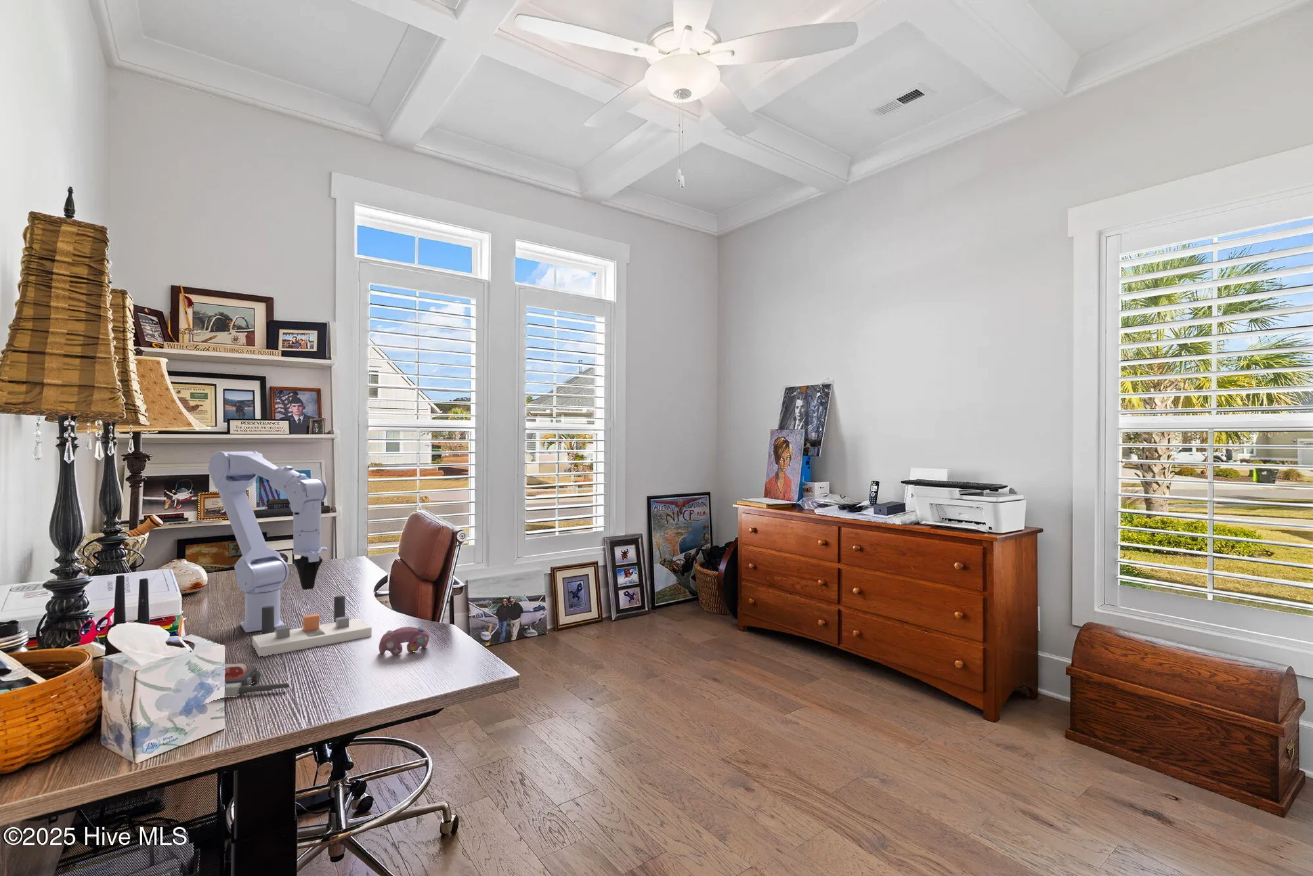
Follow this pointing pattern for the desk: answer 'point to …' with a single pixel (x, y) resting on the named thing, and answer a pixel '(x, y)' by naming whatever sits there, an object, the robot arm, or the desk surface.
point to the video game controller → (403, 640)
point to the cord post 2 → (339, 607)
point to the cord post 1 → (267, 619)
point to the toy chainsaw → (245, 680)
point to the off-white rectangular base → (310, 636)
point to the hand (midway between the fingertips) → (307, 588)
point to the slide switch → (310, 622)
